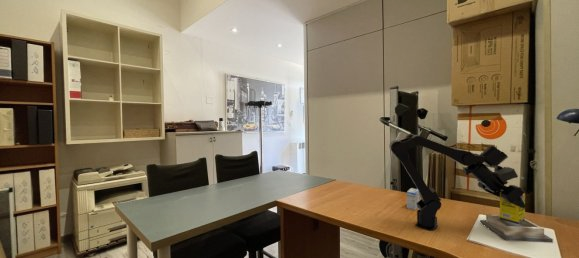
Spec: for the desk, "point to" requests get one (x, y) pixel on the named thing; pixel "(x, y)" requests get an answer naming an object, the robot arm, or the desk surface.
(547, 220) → the desk surface
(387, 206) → the desk surface
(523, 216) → the supplement box
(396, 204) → the desk surface
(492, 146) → the robot arm
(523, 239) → the board
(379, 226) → the desk surface
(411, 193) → the medicine box
